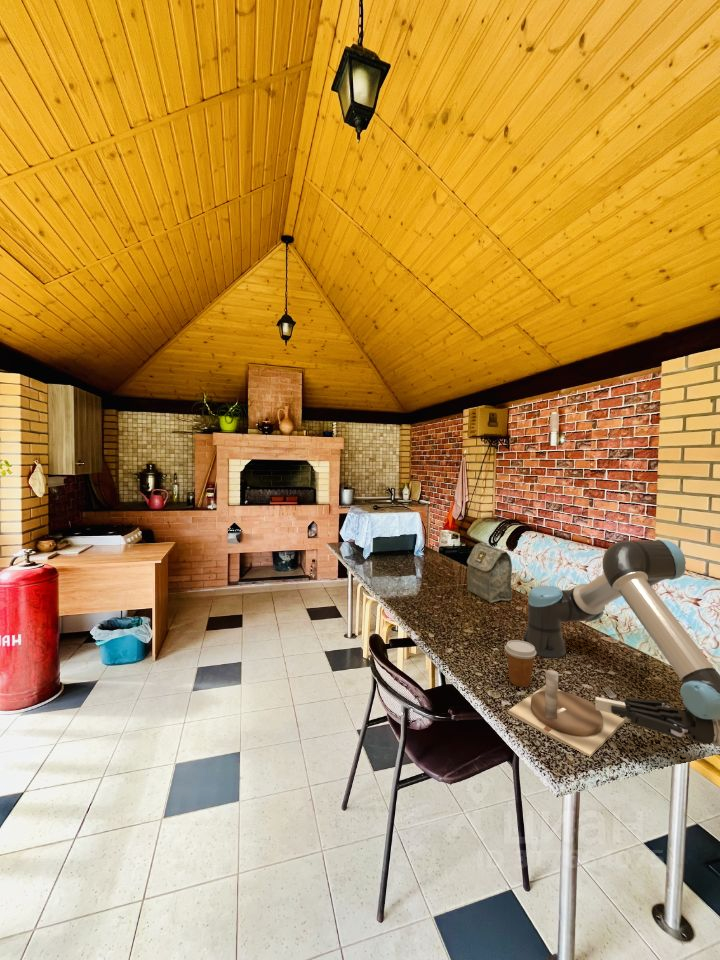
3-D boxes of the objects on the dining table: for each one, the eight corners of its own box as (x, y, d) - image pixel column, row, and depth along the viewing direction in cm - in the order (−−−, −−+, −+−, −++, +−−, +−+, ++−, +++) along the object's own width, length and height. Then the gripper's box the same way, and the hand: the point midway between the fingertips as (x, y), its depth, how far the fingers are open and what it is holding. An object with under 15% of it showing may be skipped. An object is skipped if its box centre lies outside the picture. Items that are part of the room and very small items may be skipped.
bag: (463, 590, 223) (464, 541, 222) (488, 587, 228) (489, 540, 227) (487, 604, 202) (488, 550, 200) (514, 601, 207) (515, 548, 205)
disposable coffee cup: (510, 670, 138) (510, 636, 138) (539, 680, 132) (540, 645, 132) (499, 682, 131) (500, 646, 130) (530, 693, 125) (531, 656, 124)
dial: (556, 688, 125) (557, 646, 125) (616, 721, 110) (618, 673, 109) (517, 705, 117) (518, 660, 116) (576, 744, 101) (578, 692, 100)
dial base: (546, 687, 129) (546, 683, 129) (624, 722, 111) (624, 718, 111) (508, 713, 115) (508, 709, 115) (590, 758, 98) (590, 754, 98)
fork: (650, 726, 110) (651, 719, 110) (602, 693, 126) (602, 687, 126) (658, 724, 111) (658, 717, 111) (608, 692, 126) (609, 686, 126)
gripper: (720, 760, 90) (599, 732, 99) (698, 725, 102) (591, 703, 111) (722, 728, 89) (600, 703, 98) (699, 696, 101) (592, 676, 110)
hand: (595, 703), depth 105 cm, fingers closed
